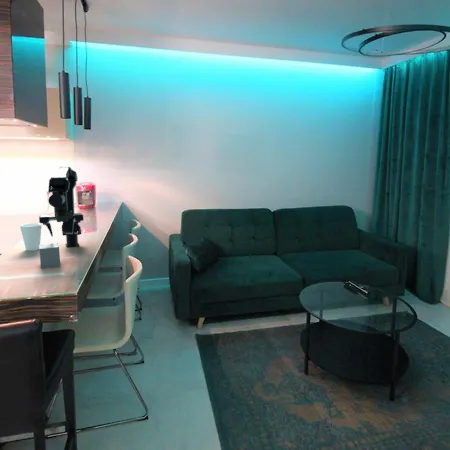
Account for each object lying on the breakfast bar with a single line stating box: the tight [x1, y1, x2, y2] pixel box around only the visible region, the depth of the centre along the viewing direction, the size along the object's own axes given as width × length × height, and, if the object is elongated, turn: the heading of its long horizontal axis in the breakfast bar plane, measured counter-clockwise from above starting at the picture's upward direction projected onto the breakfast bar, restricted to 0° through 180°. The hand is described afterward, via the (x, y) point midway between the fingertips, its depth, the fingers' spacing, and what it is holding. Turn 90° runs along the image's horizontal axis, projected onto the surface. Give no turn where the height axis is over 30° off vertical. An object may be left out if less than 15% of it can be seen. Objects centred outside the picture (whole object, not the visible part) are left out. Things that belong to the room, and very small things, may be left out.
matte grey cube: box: [38, 242, 61, 269], centre depth 153 cm, size 8×8×9 cm
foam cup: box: [19, 222, 43, 252], centre depth 177 cm, size 10×9×13 cm
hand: (62, 235), depth 163 cm, fingers open, 9 cm apart
